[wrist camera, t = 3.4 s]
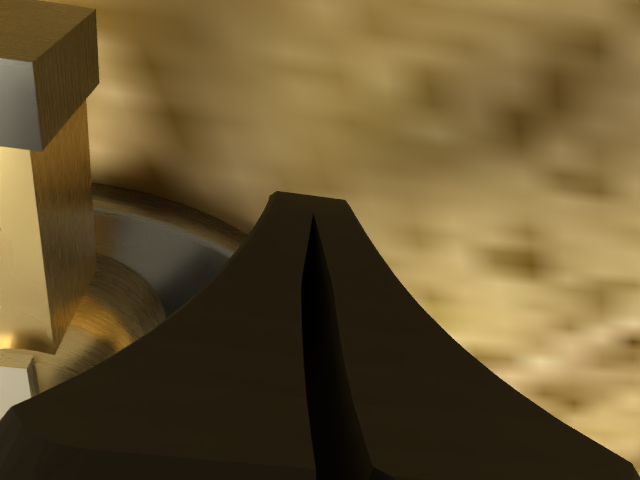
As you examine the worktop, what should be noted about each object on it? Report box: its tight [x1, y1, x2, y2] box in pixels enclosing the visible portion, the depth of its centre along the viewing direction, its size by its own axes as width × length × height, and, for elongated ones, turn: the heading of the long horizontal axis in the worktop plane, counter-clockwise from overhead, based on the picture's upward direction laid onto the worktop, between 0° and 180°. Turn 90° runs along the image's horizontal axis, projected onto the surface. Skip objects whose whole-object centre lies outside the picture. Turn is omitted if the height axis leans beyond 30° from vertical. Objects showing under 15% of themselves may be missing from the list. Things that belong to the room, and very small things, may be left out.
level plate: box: [91, 184, 248, 318], centre depth 15 cm, size 14×14×4 cm
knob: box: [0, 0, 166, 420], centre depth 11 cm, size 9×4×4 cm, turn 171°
